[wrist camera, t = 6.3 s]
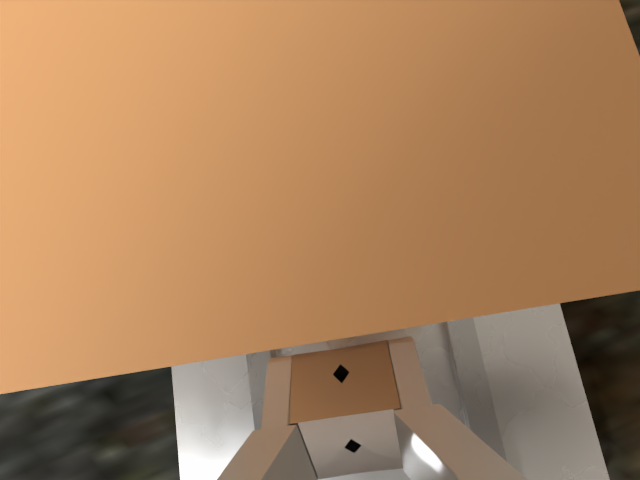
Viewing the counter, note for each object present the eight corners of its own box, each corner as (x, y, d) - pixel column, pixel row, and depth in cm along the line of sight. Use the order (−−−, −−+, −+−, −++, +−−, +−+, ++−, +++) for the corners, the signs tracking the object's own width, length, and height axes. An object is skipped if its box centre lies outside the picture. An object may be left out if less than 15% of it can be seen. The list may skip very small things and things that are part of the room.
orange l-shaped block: (426, 321, 14) (719, 275, 2) (289, 344, 14) (-123, 412, 2) (368, 49, 16) (352, -716, 4) (252, 75, 16) (-54, -560, 5)
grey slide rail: (607, 520, 13) (766, 652, 8) (201, 568, 14) (96, 711, 9) (449, -50, 18) (481, -212, 13) (155, 20, 19) (69, -101, 14)
